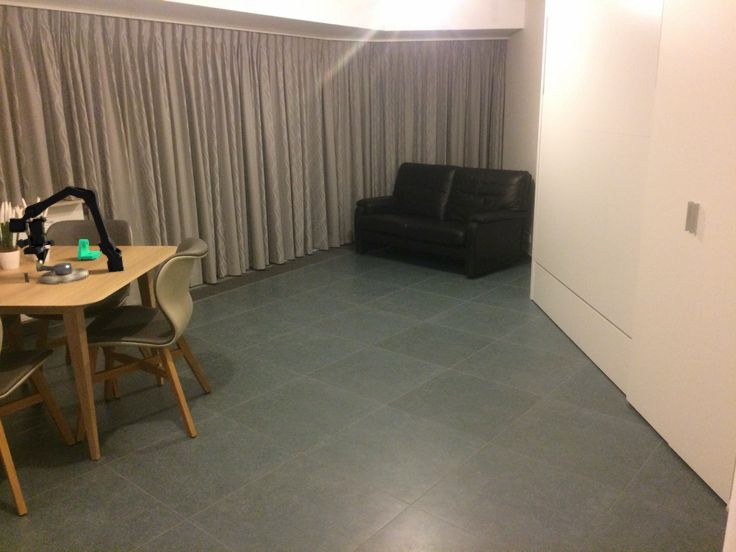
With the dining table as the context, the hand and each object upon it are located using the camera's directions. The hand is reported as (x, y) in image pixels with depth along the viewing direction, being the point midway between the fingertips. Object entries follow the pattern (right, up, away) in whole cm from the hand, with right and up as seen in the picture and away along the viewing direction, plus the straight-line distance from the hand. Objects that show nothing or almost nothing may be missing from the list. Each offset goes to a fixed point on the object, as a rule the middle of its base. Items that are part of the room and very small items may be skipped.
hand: (42, 264), depth 265 cm
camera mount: (+6, +4, +33) cm, 34 cm away
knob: (+7, -4, -3) cm, 9 cm away
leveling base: (+10, -7, -5) cm, 13 cm away
